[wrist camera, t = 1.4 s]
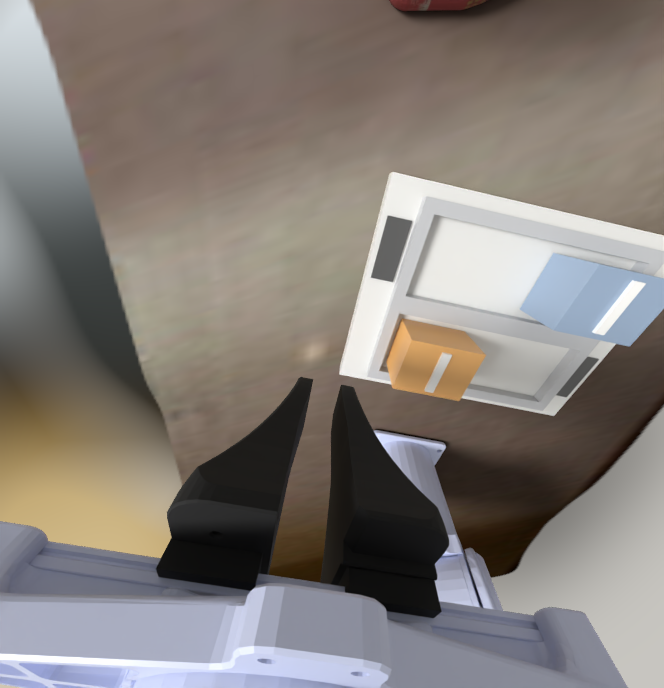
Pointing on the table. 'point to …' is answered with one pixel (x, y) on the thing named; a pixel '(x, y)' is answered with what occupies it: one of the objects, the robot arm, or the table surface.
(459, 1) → the pliers
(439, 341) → the orange white-striped block
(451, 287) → the white flat tray
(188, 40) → the table surface
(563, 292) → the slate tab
